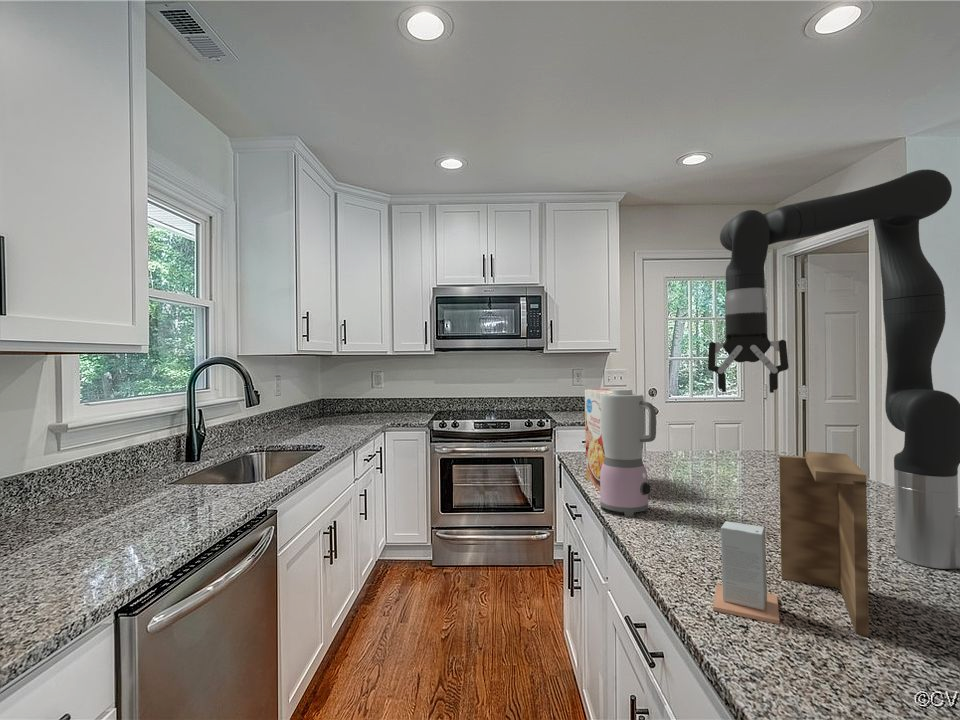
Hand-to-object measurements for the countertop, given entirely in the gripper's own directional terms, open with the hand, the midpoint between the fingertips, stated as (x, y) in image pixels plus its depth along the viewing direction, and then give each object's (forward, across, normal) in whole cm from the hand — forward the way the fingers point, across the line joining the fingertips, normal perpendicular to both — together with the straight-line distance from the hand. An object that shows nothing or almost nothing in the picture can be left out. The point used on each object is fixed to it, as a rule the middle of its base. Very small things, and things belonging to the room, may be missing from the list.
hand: (747, 392), depth 100 cm
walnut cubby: (+33, +9, -18) cm, 39 cm away
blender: (+33, -28, +18) cm, 47 cm away
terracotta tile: (+33, -1, -24) cm, 40 cm away
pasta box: (+33, -40, +42) cm, 67 cm away
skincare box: (+32, -1, -24) cm, 40 cm away
